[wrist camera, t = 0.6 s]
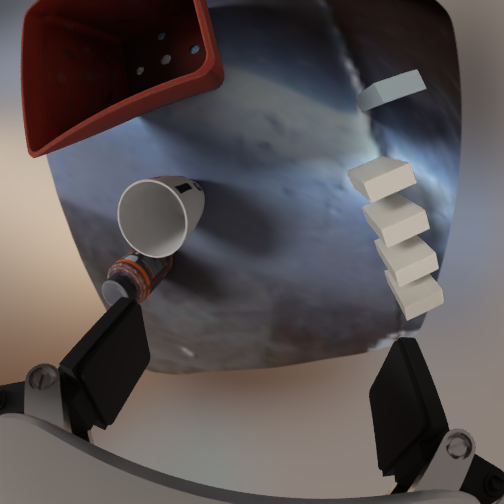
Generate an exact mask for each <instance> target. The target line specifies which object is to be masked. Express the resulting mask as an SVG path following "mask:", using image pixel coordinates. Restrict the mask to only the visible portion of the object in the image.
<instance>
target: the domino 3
mask: <svg viewBox="0 0 504 504" xmlns="http://www.w3.org/2000/svg"><path fill="white" fill-rule="evenodd" d="M362 210H363V212H364V215H365V217H366V220H367V222H368V223H369V225H370V226H371V227H372V228H373V230H374V231H375V232H376V234H377V235H378V236H379V238H380V239H381V240H382V242H383V243H384V244H385V246H386V247H387V248H388V247H391V246H393V245H395V244H397V243H400V242H402V241H404V240H406V239H408V238H411V237H413V236H415V235H417V234H419V233H421V232H424V231H426V230H428V229H430V227H429V223H428V219H427V215H426V212H425V210H424V209H423V208H421V207H419V206H418V205H416V204H415V203H413V202H411V201H410V200H408V199H407V198H405V197H403V196H402V195H400V194H398V193H397V192H395V193H393V194H391V195H388V196H386V197H384V198H382V199H379V200H377V201H375V202H372V203H370V204H368V205H365V206H363V207H362Z"/></svg>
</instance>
